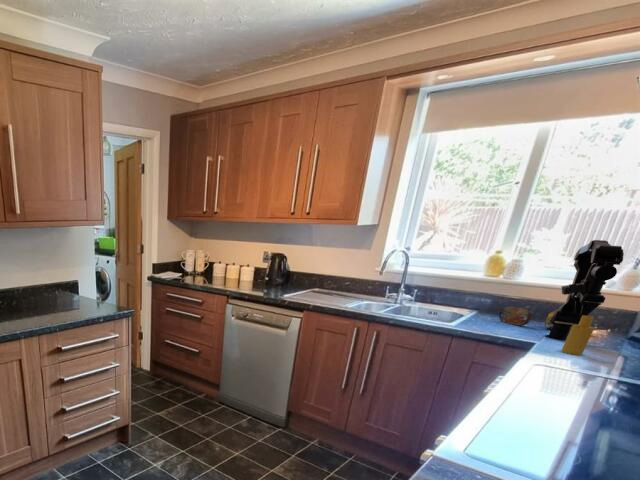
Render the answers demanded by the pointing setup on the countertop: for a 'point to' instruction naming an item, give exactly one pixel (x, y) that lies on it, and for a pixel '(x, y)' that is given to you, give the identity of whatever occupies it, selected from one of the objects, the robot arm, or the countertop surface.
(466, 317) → the countertop surface
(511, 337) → the countertop surface
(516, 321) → the tin
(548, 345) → the countertop surface
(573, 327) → the bottle
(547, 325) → the burger
